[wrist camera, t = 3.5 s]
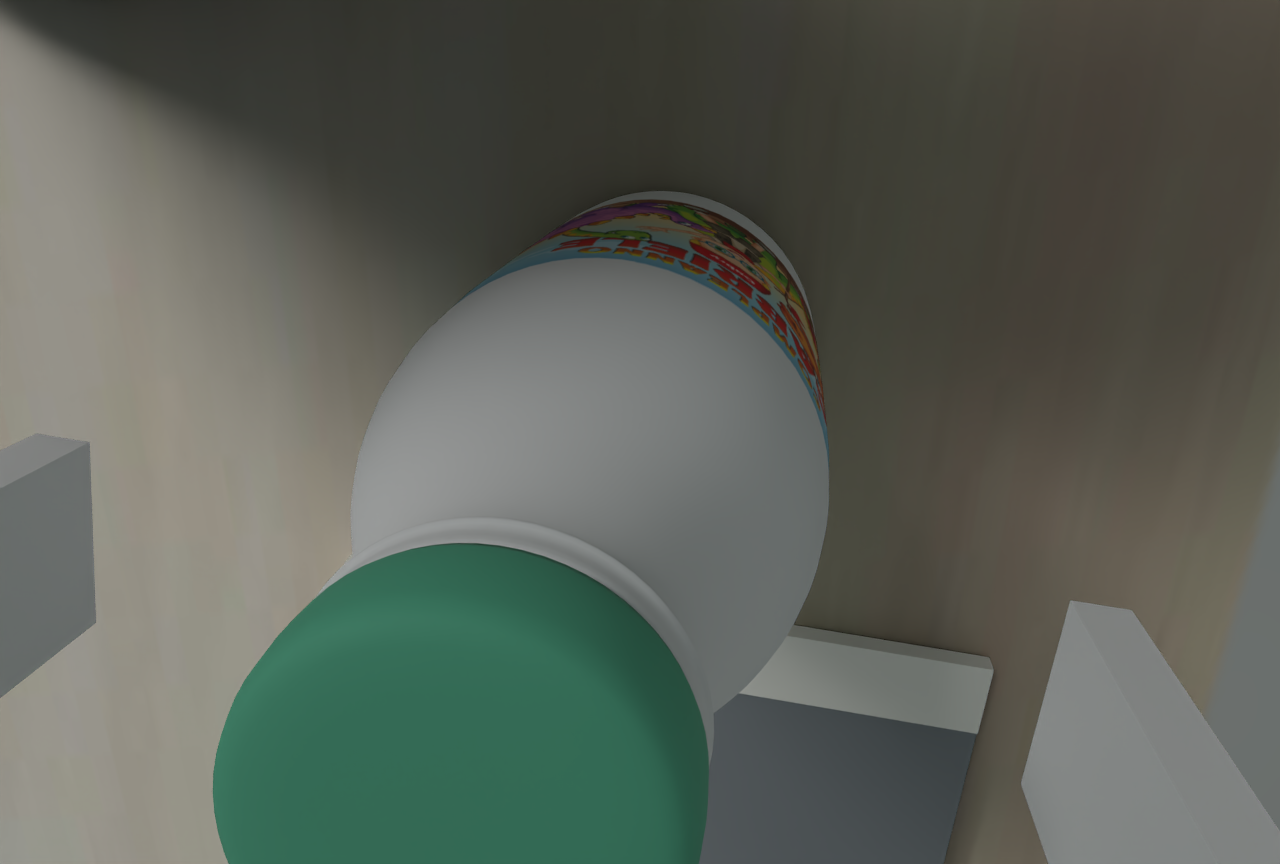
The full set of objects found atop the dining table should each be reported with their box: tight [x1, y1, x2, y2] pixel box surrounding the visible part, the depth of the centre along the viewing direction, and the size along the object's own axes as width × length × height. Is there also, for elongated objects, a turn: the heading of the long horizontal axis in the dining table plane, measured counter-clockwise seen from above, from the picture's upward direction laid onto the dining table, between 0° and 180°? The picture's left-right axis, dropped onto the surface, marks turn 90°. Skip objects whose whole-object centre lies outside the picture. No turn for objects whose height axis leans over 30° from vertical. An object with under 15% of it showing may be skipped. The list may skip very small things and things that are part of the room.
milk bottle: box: [213, 191, 829, 864], centre depth 19 cm, size 8×8×20 cm
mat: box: [345, 554, 994, 864], centre depth 33 cm, size 18×14×1 cm
